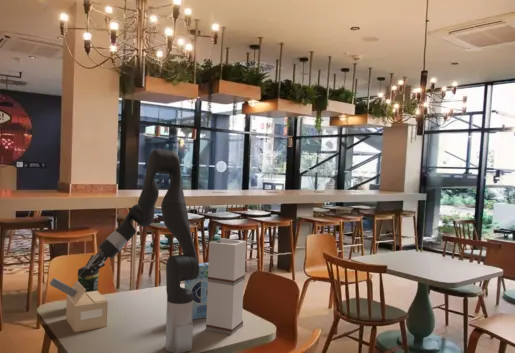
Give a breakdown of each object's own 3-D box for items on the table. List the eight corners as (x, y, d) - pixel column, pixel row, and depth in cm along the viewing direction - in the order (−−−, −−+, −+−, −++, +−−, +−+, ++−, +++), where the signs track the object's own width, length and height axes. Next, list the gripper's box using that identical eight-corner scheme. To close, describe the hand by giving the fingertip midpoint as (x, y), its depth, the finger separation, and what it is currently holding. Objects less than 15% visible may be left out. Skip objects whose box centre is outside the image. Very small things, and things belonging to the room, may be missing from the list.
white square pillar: (242, 325, 172) (246, 241, 171) (231, 334, 162) (235, 245, 161) (218, 320, 176) (221, 238, 175) (205, 329, 166) (209, 242, 165)
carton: (107, 326, 165) (107, 300, 165) (74, 332, 158) (75, 305, 158) (96, 313, 178) (96, 290, 178) (65, 318, 171) (66, 294, 171)
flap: (86, 290, 161) (62, 276, 156) (75, 304, 159) (51, 291, 154) (77, 281, 172) (55, 268, 167) (68, 294, 170) (45, 282, 165)
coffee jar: (91, 310, 182) (92, 268, 181) (73, 310, 182) (74, 267, 181) (100, 303, 191) (101, 263, 191) (83, 302, 191) (84, 262, 191)
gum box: (222, 310, 189) (224, 259, 189) (228, 313, 185) (230, 262, 185) (182, 317, 179) (184, 264, 178) (187, 321, 174) (189, 266, 174)
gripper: (102, 236, 177) (70, 268, 170) (111, 241, 166) (78, 275, 159) (114, 247, 180) (83, 279, 173) (124, 253, 169) (92, 287, 162)
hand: (81, 277), depth 166 cm, fingers closed
